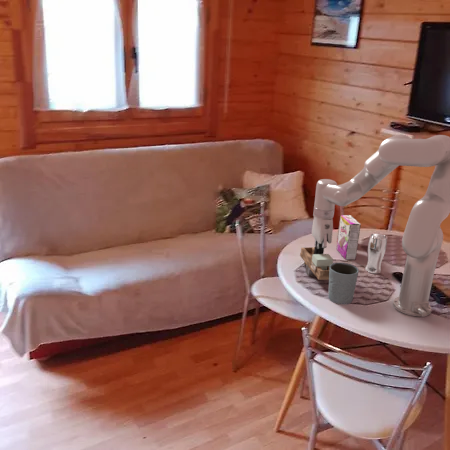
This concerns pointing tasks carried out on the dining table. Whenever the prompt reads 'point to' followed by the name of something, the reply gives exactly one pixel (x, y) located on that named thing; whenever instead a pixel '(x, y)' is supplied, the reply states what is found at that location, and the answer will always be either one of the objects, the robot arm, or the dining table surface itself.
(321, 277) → the brown long open box
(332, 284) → the grey green cup
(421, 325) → the dining table surface
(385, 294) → the dining table surface
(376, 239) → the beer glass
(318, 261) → the block
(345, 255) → the candy bar box
